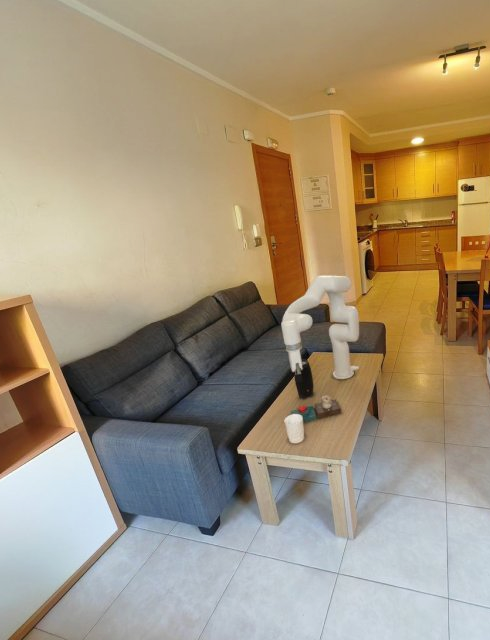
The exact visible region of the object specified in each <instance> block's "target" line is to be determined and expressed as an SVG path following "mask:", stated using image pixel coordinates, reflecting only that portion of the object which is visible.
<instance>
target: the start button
mask: <svg viewBox="0 0 490 640" xmlns="http://www.w3.org/2000/svg"><path fill="white" fill-rule="evenodd" d="M298 408H299V412H301V413H303V412H305V411H306V405H299V407H298Z"/></svg>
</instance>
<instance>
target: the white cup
mask: <svg viewBox="0 0 490 640" xmlns="http://www.w3.org/2000/svg"><path fill="white" fill-rule="evenodd" d="M284 426H285V430H286V434H287V437H288V441H289V442H290V443H291V444H299V443H301V442H303V441H304V440H305V427H304V423H303V417H302V416H301V415H300V414H292V415H291V414H289V415H288V416H286V417H285V418H284Z"/></svg>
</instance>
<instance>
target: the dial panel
mask: <svg viewBox="0 0 490 640" xmlns="http://www.w3.org/2000/svg"><path fill="white" fill-rule="evenodd" d="M313 405H314V411H315V414H316V417H317V418H318V420H321V419H323V418H324V419H325V418H328V417H332V416H336V415H341V414H342V413H341V411H342V410H341V407H340V405H339V403H338V401H337V399H336V398H335V399H331V407H330V408H323V406H322V401H321V402H318V403H317V402H316V403H313Z"/></svg>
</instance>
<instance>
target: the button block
mask: <svg viewBox="0 0 490 640" xmlns="http://www.w3.org/2000/svg"><path fill="white" fill-rule="evenodd" d="M305 406H306V405H305ZM292 414H300V415H301V416H302V417H303V424H304V423H308V422H312V421H315V420H317V413H316V410H315V407H314V406H313V405H310V406H306V411H305V412H303V413H301V412H299V407H297V408H296V409H293V410H290V415H292Z"/></svg>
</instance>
